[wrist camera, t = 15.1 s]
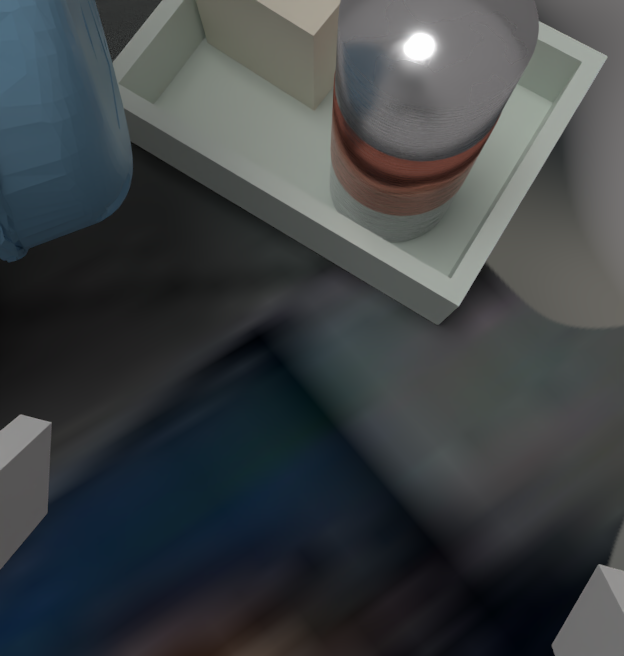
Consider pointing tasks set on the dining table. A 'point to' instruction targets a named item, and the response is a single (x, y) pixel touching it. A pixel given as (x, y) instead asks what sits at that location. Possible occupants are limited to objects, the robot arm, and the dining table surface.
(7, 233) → the robot arm
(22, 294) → the dining table surface
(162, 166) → the dining table surface
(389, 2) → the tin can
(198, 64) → the tote
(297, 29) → the beige rectangular block
